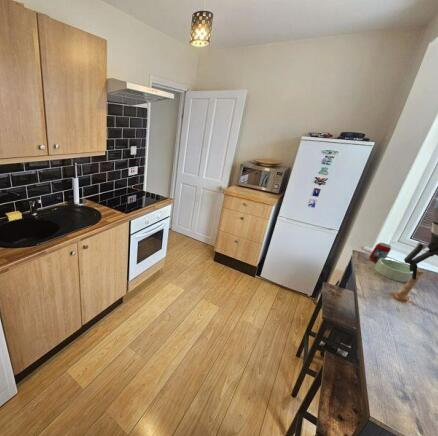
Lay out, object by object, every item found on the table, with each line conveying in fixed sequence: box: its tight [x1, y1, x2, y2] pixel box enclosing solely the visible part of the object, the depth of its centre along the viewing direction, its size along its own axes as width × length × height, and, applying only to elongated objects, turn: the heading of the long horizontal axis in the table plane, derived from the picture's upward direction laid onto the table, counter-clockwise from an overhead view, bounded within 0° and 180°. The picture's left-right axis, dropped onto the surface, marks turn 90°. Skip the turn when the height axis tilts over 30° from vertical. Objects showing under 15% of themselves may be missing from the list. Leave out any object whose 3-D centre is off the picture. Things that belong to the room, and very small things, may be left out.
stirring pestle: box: [395, 268, 424, 301], centre depth 112 cm, size 4×4×17 cm
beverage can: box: [368, 242, 392, 264], centre depth 145 cm, size 7×7×12 cm
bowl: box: [373, 257, 413, 283], centre depth 133 cm, size 15×15×6 cm
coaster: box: [388, 291, 414, 306], centre depth 115 cm, size 9×9×1 cm
